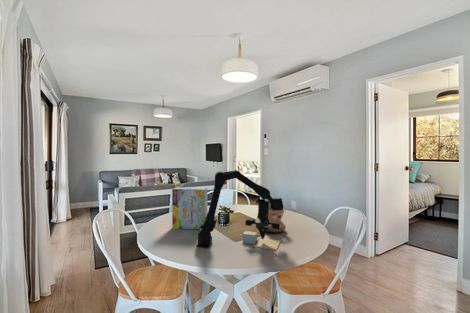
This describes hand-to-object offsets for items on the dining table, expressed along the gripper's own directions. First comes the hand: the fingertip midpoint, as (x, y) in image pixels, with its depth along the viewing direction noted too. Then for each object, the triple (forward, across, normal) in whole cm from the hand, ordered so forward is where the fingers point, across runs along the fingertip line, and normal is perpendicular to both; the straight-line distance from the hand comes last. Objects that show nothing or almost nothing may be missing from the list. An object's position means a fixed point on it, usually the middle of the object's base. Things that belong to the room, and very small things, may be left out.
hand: (262, 239), depth 133 cm
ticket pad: (+2, +3, 0) cm, 4 cm away
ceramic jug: (+3, +2, +24) cm, 24 cm away
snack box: (+3, -50, +9) cm, 51 cm away
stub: (+2, -7, 0) cm, 8 cm away
